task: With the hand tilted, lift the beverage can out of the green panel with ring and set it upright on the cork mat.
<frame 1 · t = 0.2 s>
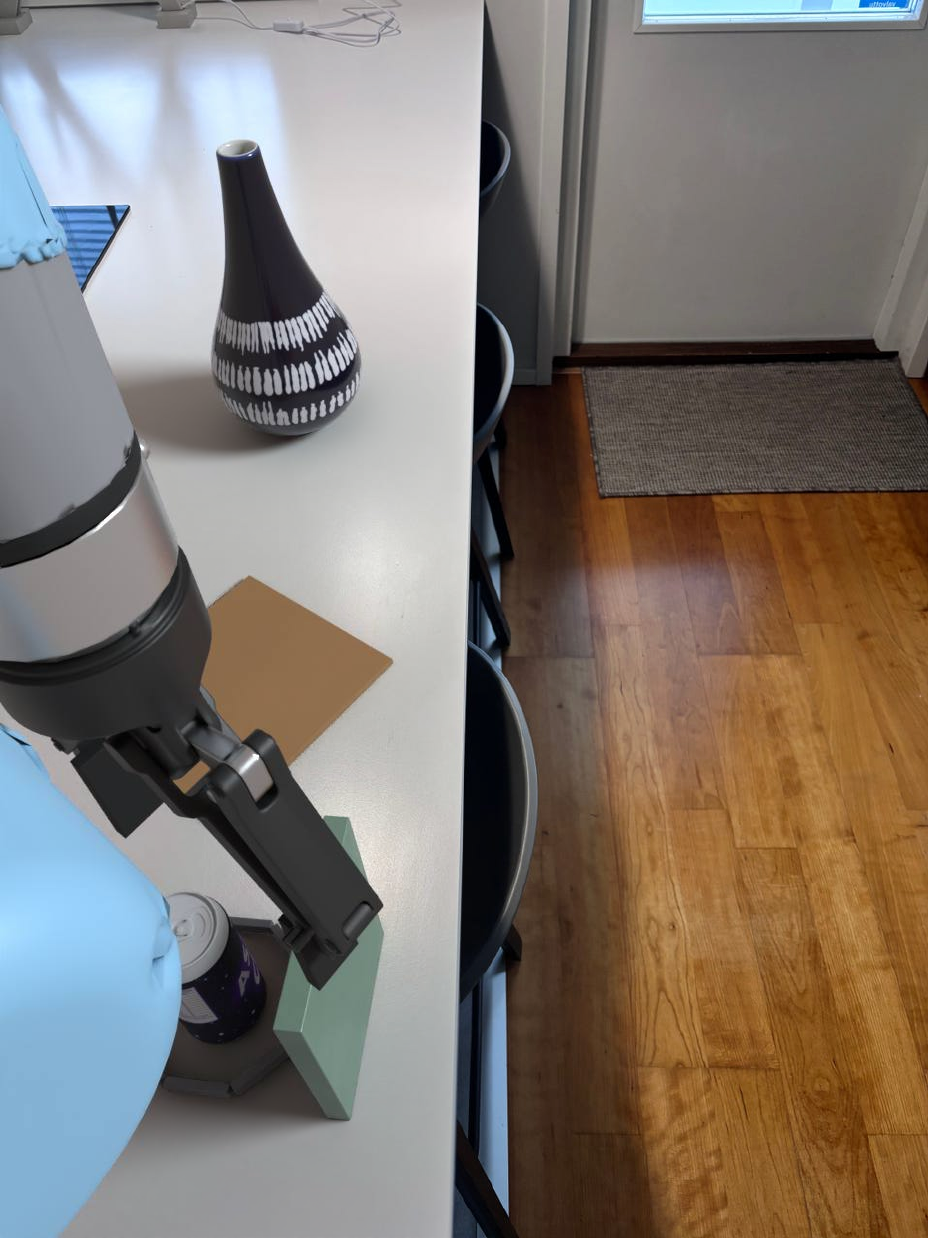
hand: (231, 885, 47), 21 cm above the counter, tool pointing down, fingers open, 13 cm apart
green panel with ring: (226, 1006, 64), on the counter
vase: (300, 419, 107), on the counter
beverage can: (228, 1006, 64), resting in green panel with ring
cork mat: (238, 691, 81), on the counter
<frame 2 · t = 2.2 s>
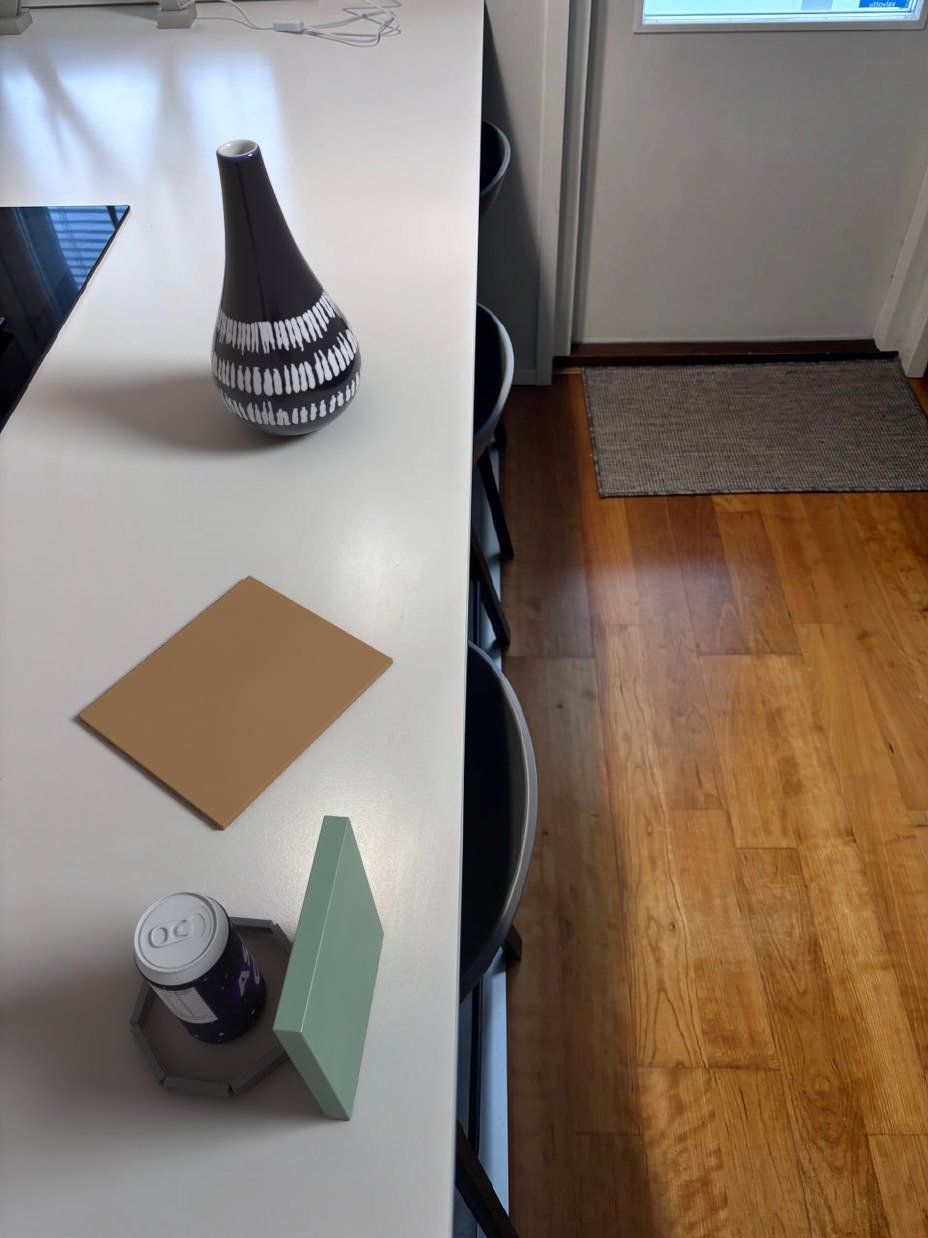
nothing on the counter moved.
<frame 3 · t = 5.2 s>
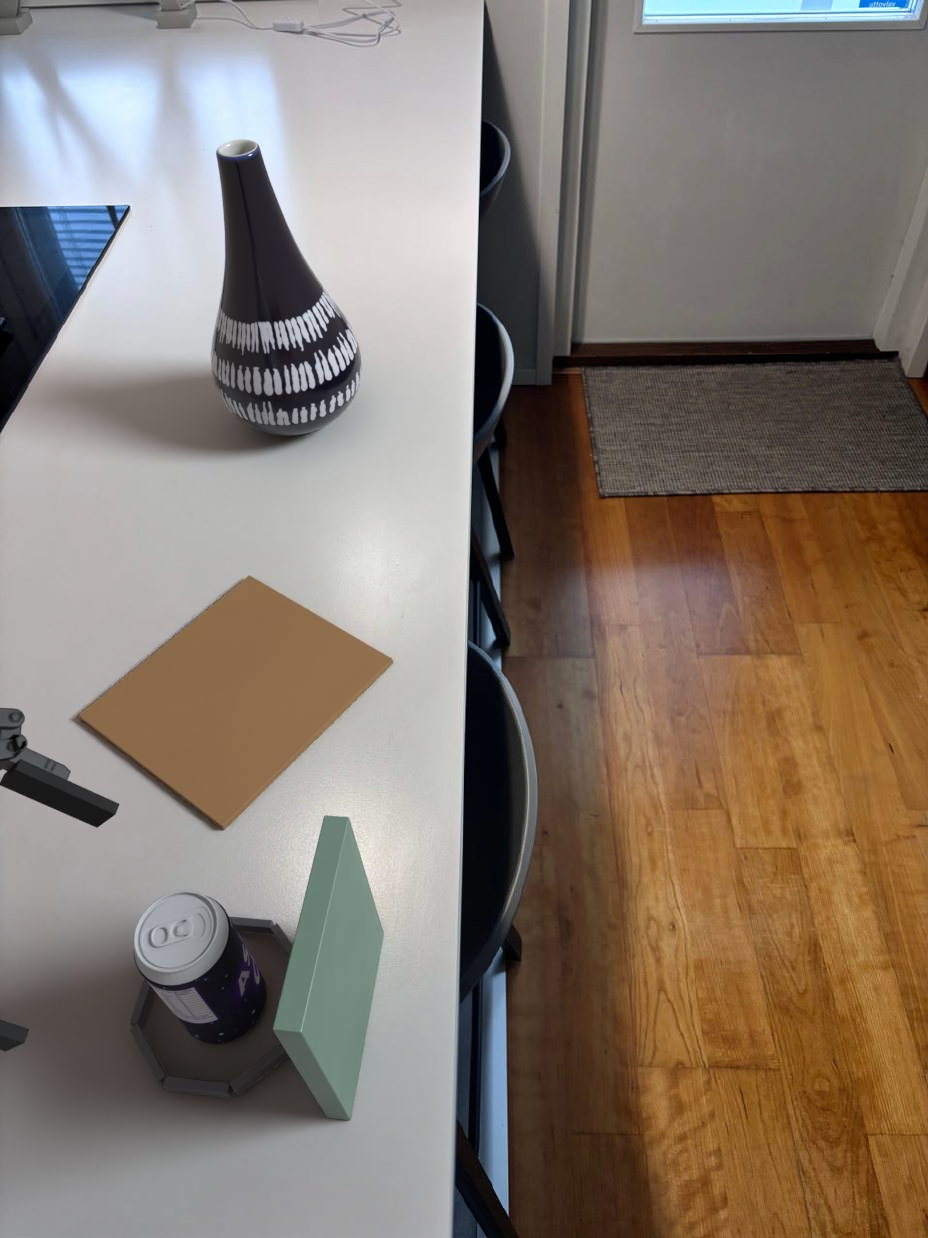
hand: (67, 919, 55), 12 cm above the counter, tool tilted 45°, fingers open, 13 cm apart
nothing on the counter moved.
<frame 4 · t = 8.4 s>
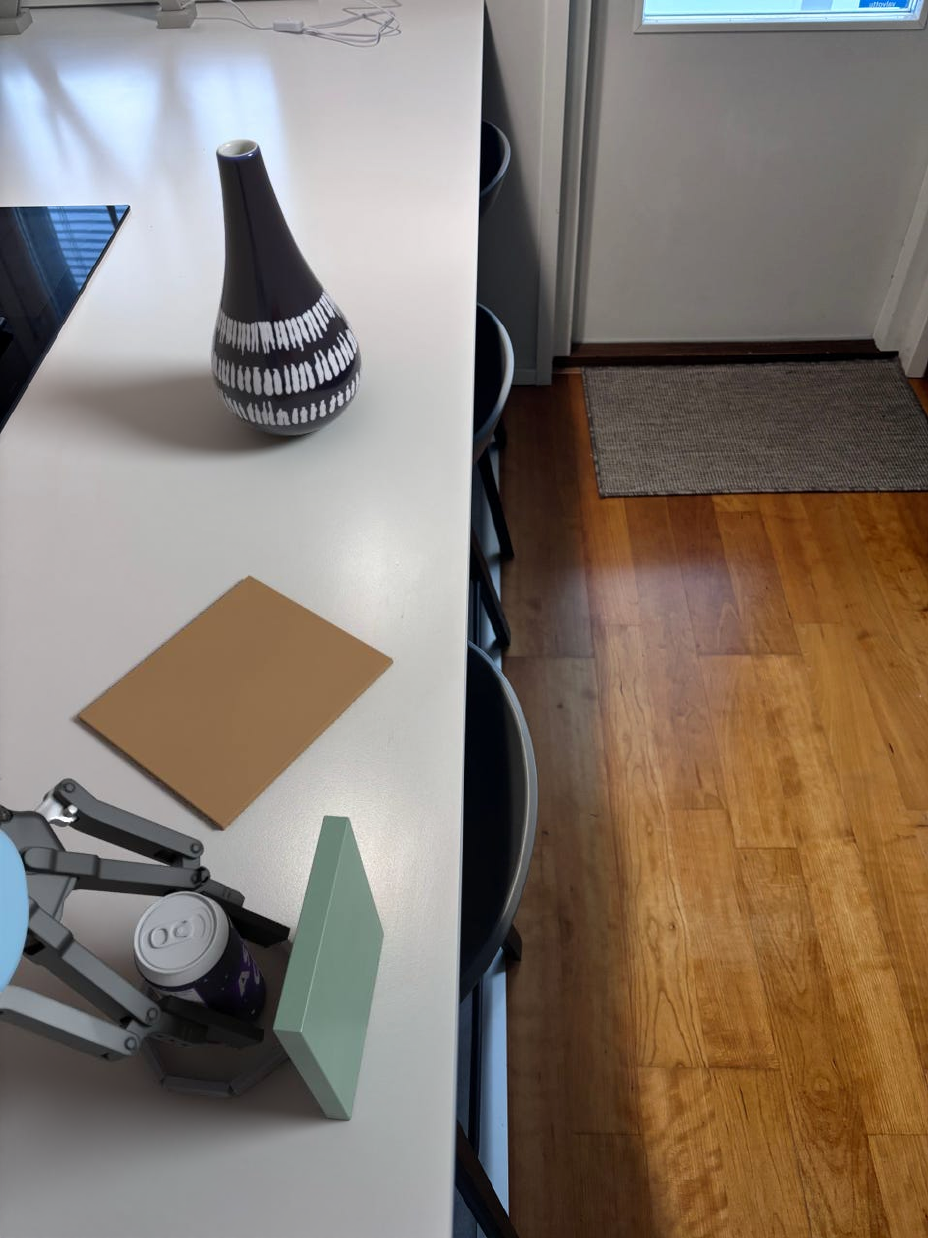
hand: (265, 987, 60), 4 cm above the counter, tool tilted 45°, fingers closed on beverage can, 6 cm apart
beverage can: (228, 1005, 64), resting in green panel with ring, touching gripper
everything else where it was.
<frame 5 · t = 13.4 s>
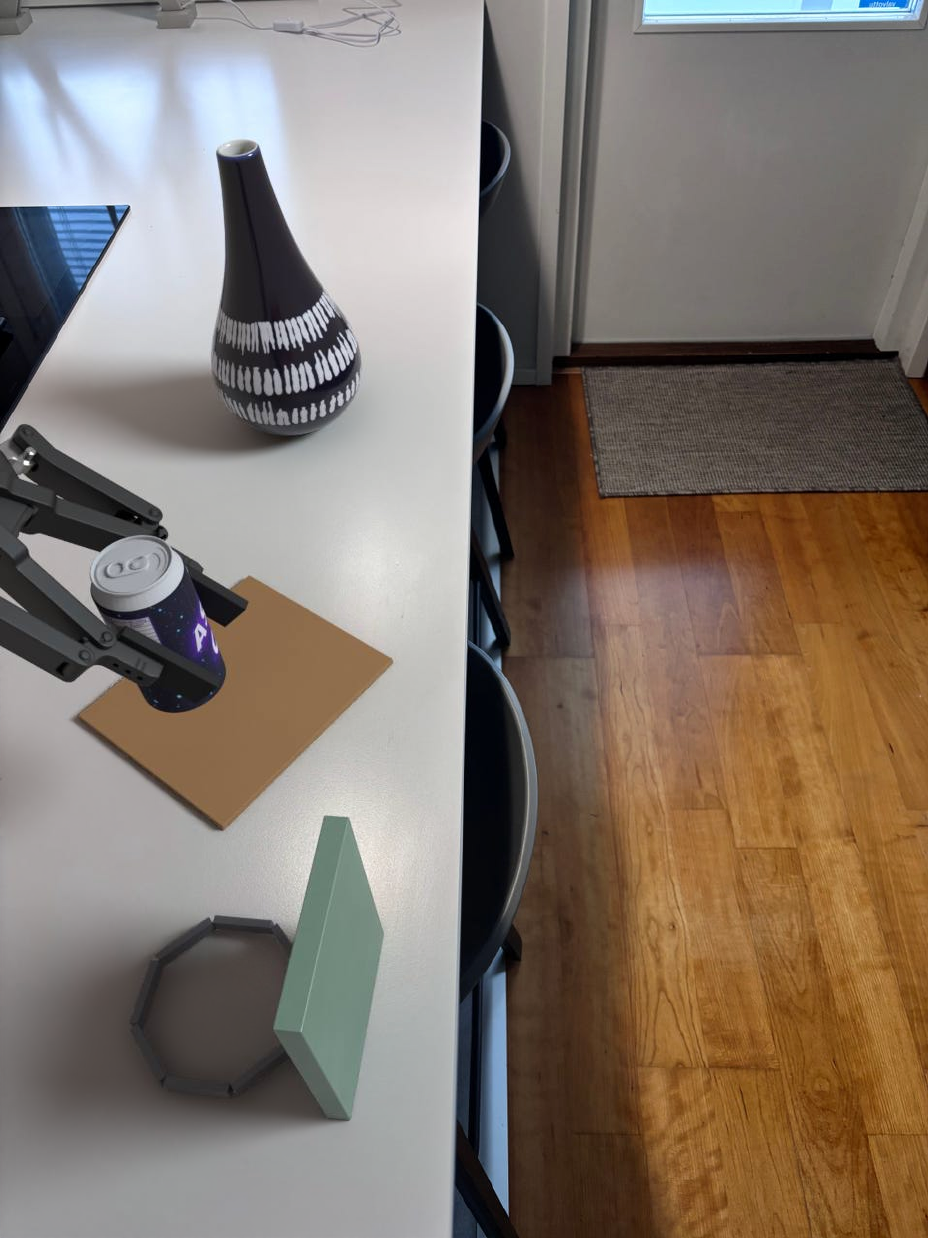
hand: (222, 651, 61), 18 cm above the counter, tool tilted 45°, fingers closed on beverage can, 6 cm apart
beverage can: (188, 688, 65), point 13 cm above the counter, touching gripper
everything else where it was.
when the fingers open (5 cm above the counter, at t = 18.4 s): beverage can stays where it is, resting on cork mat.
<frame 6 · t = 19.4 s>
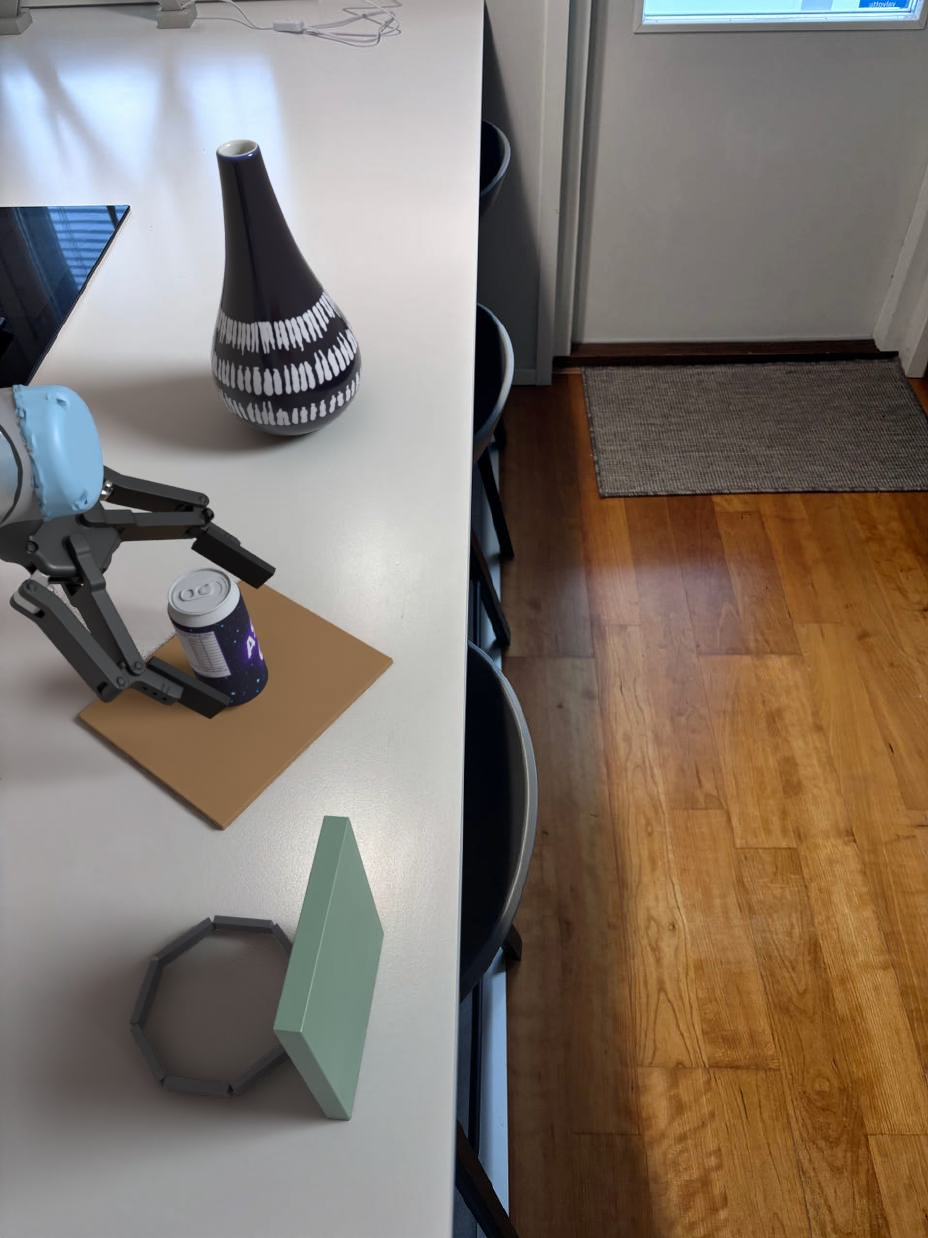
hand: (245, 640, 76), 7 cm above the counter, tool tilted 45°, fingers open, 13 cm apart
beverage can: (238, 687, 81), resting on cork mat
everything else where it was.
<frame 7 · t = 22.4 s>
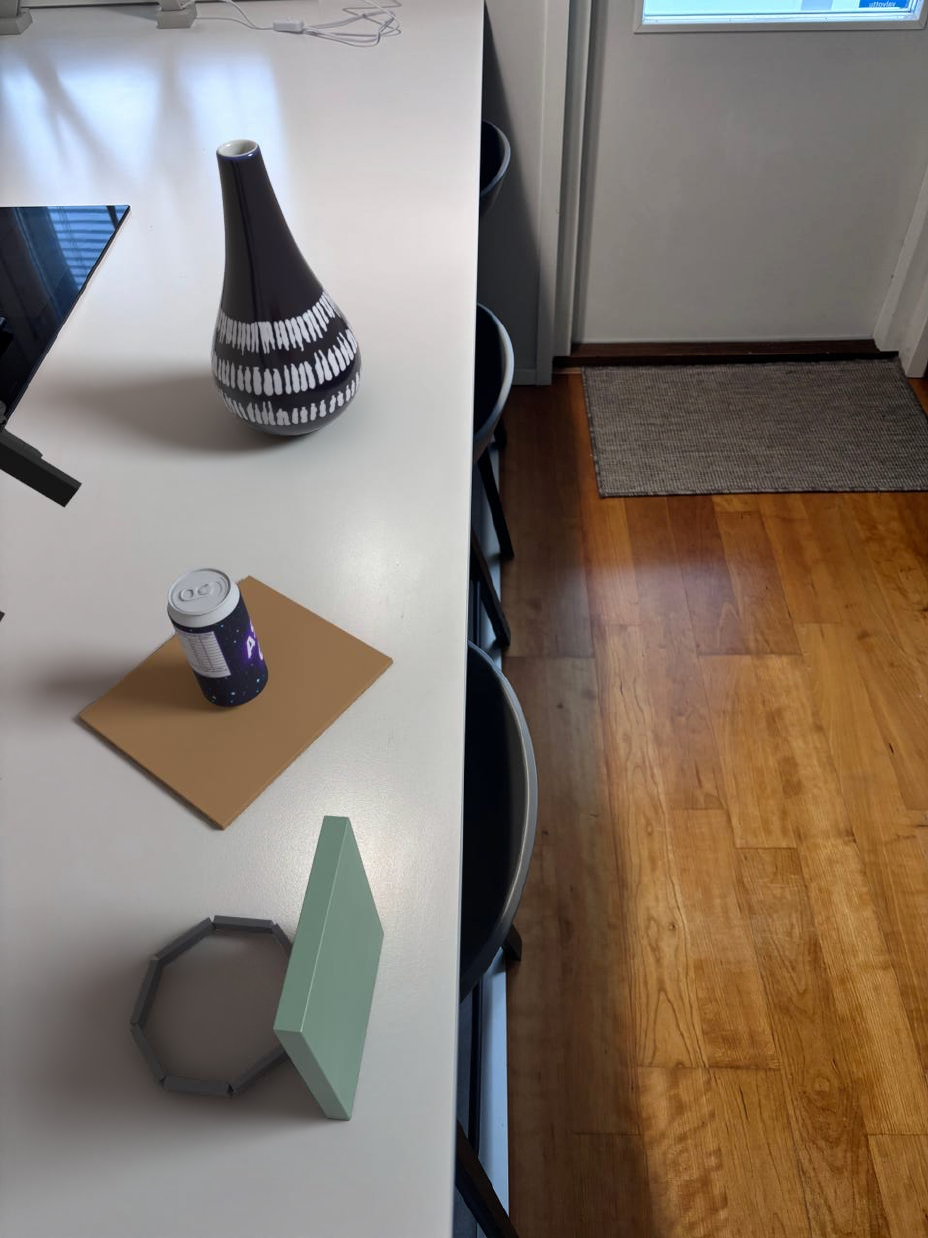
hand: (37, 557, 69), 17 cm above the counter, tool tilted 45°, fingers open, 13 cm apart
nothing on the counter moved.
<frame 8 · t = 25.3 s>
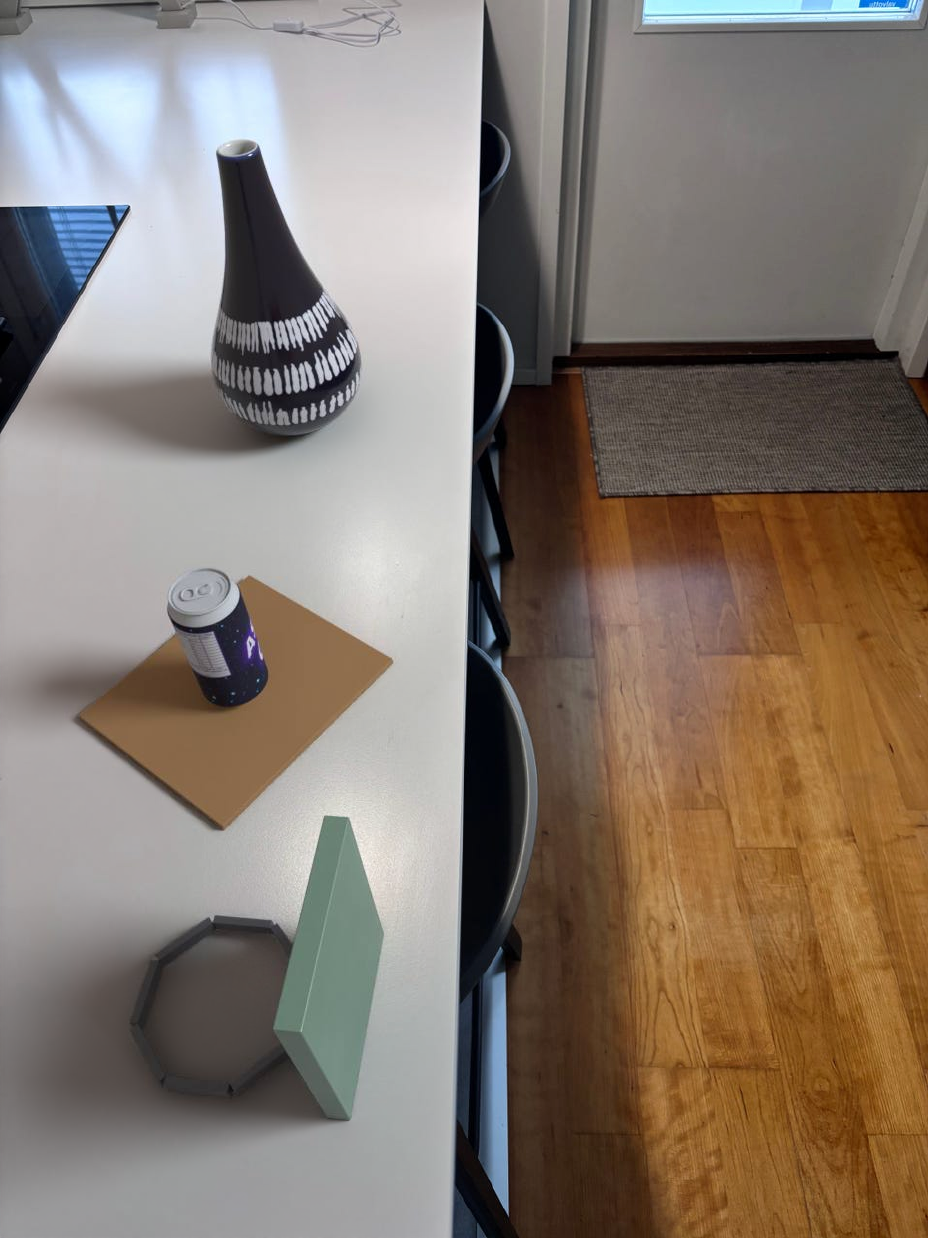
nothing on the counter moved.
at the end: beverage can inside the target area on the cork mat (0.0 cm from its centre), point 0.4 cm above the cork mat's base; beverage can tilted 0°; the gripper is holding nothing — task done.
